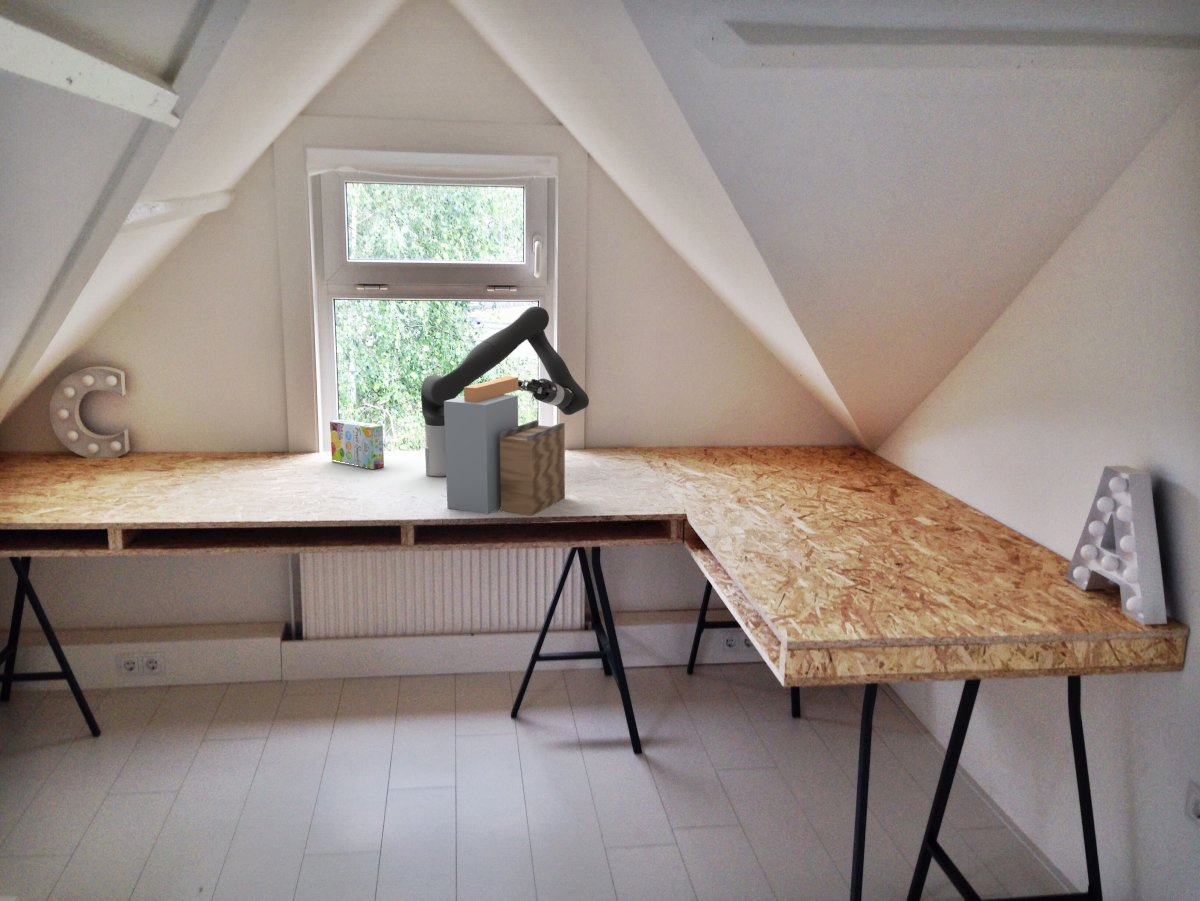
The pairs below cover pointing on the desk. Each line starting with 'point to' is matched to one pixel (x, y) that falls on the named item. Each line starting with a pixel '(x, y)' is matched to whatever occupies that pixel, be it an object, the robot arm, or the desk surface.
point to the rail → (490, 389)
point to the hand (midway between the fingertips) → (521, 381)
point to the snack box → (357, 443)
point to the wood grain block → (532, 467)
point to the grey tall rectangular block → (476, 450)
